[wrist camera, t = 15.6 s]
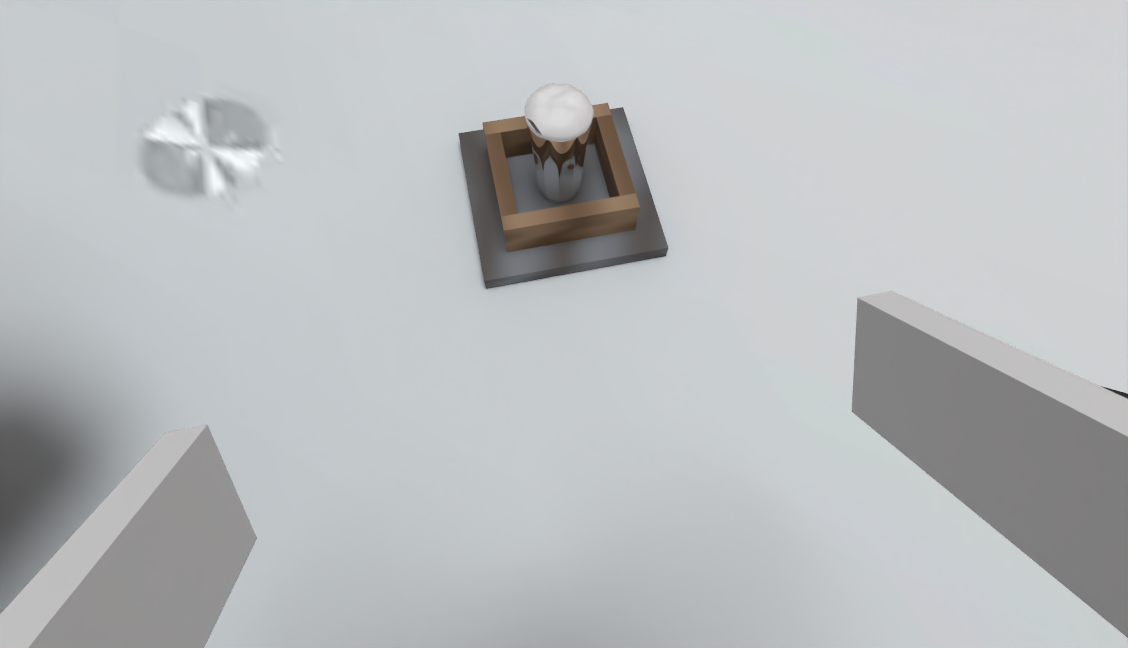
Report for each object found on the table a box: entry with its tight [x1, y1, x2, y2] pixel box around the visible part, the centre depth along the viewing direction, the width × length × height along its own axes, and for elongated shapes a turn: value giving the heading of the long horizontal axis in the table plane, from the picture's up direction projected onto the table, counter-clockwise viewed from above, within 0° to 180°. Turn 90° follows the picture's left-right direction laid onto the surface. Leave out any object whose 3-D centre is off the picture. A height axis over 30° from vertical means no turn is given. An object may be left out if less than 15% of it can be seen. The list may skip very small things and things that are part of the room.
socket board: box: [459, 103, 668, 288], centre depth 45 cm, size 14×14×4 cm
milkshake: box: [525, 83, 594, 203], centre depth 42 cm, size 4×5×10 cm
